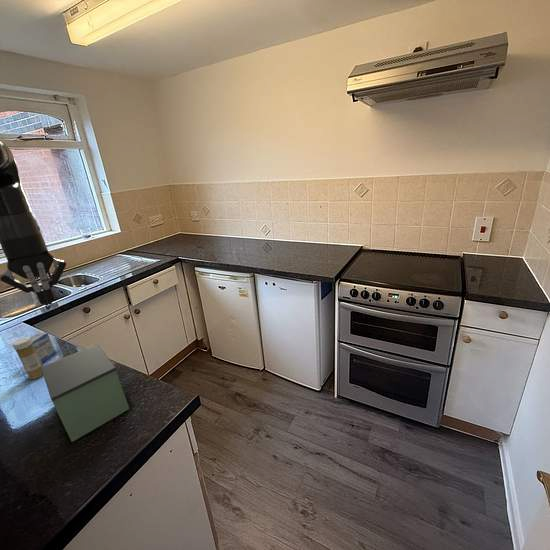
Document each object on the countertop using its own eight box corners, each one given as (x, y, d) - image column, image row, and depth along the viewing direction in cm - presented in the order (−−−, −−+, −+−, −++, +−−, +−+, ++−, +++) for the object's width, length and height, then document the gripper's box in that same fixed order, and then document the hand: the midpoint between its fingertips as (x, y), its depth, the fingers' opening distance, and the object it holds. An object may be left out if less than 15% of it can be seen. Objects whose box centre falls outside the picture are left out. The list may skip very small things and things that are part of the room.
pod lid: (116, 370, 75) (115, 367, 74) (52, 401, 66) (50, 398, 66) (98, 345, 86) (97, 343, 86) (41, 369, 78) (40, 367, 77)
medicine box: (37, 366, 102) (27, 345, 99) (26, 366, 103) (16, 345, 100) (56, 352, 109) (47, 332, 106) (46, 352, 110) (37, 332, 107)
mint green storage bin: (129, 408, 80) (115, 368, 75) (71, 442, 72) (51, 399, 67) (111, 382, 91) (98, 345, 86) (60, 408, 83) (41, 369, 78)
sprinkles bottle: (46, 368, 101) (31, 334, 96) (45, 376, 97) (29, 341, 92) (29, 374, 99) (13, 340, 94) (28, 382, 95) (10, 346, 90)
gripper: (52, 226, 73) (76, 290, 79) (-21, 239, 64) (12, 310, 71) (57, 229, 67) (82, 298, 74) (-21, 243, 59) (15, 319, 65)
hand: (48, 303), depth 72 cm, fingers closed
